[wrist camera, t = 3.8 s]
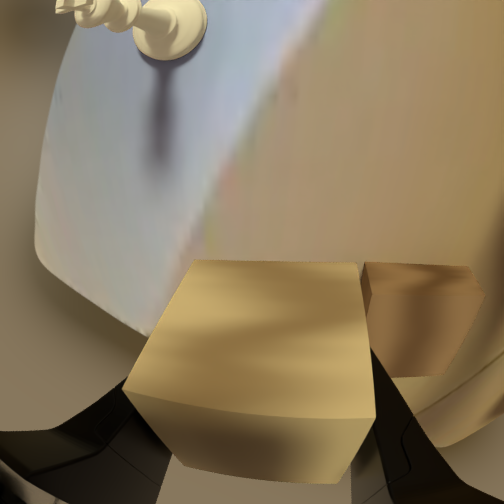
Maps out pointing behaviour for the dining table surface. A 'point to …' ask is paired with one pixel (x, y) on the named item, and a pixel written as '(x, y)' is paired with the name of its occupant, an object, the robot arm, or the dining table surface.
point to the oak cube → (260, 370)
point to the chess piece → (145, 22)
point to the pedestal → (418, 314)
